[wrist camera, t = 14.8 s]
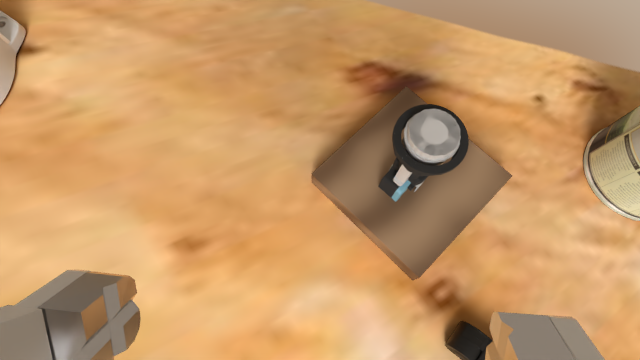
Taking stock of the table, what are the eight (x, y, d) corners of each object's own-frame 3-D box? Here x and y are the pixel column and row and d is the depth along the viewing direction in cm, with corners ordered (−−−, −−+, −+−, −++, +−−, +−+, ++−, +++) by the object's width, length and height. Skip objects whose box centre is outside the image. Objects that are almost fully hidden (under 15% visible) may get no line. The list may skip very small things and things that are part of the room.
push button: (409, 131, 39) (440, 71, 30) (454, 167, 38) (500, 118, 29) (363, 179, 38) (379, 132, 28) (408, 219, 37) (441, 184, 27)
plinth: (311, 182, 40) (311, 173, 38) (401, 99, 43) (406, 86, 41) (412, 280, 37) (419, 277, 35) (500, 184, 40) (512, 175, 38)
